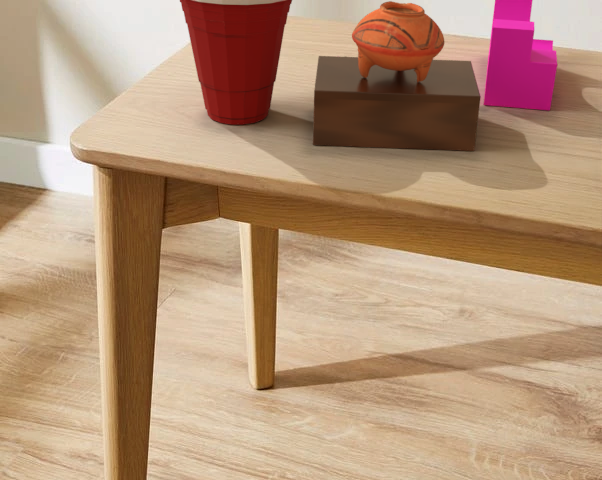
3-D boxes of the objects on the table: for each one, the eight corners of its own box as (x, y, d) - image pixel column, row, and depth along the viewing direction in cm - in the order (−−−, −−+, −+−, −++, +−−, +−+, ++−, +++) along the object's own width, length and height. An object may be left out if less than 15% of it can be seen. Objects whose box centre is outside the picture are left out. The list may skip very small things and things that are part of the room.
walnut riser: (465, 112, 92) (471, 60, 89) (474, 151, 85) (480, 96, 82) (317, 106, 93) (318, 55, 90) (312, 145, 85) (314, 90, 82)
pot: (349, 53, 90) (370, -20, 86) (430, 79, 89) (455, 8, 86) (335, 80, 83) (358, 2, 79) (423, 108, 83) (450, 32, 79)
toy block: (549, 110, 93) (562, 32, 89) (483, 104, 94) (492, 27, 90) (547, 59, 105) (557, -12, 101) (488, 55, 106) (496, -15, 102)
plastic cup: (304, 96, 95) (306, -31, 89) (286, 139, 86) (287, 2, 80) (195, 88, 96) (190, -37, 90) (166, 130, 87) (158, -5, 81)
